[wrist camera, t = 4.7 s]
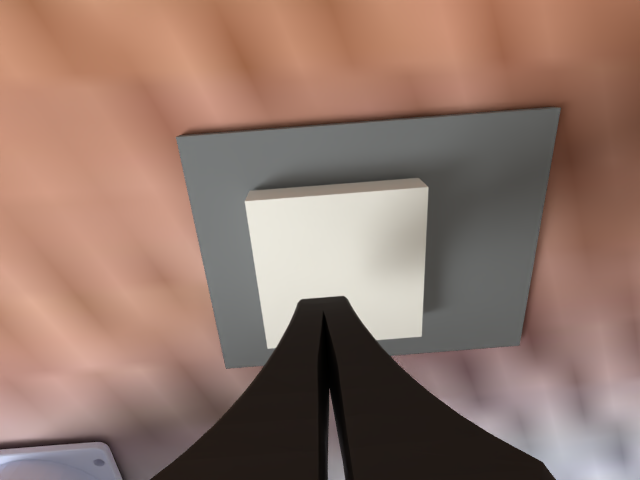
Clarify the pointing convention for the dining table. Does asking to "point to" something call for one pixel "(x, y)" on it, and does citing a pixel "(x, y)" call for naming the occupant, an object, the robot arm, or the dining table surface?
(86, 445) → the robot arm
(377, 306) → the tile
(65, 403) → the dining table surface
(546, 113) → the mat
